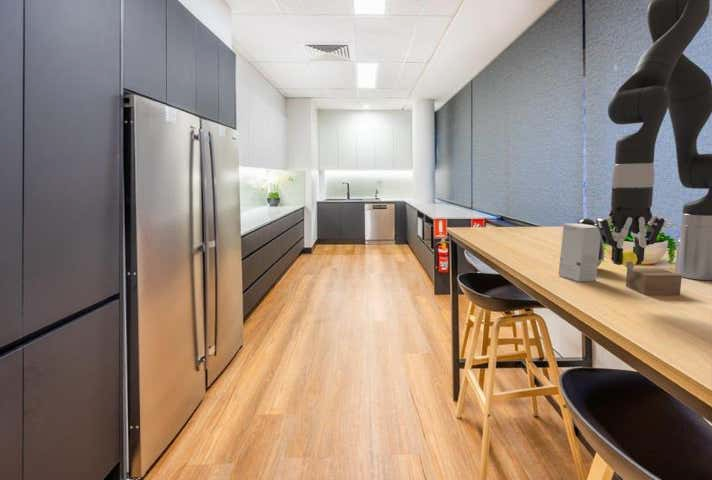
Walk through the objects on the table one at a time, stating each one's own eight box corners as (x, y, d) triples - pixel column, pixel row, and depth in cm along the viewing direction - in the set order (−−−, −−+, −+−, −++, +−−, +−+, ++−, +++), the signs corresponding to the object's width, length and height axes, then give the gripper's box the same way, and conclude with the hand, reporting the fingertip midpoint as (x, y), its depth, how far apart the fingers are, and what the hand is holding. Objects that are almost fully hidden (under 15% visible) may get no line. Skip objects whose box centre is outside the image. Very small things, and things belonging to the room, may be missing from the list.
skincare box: (557, 275, 123) (560, 223, 121) (576, 274, 125) (579, 222, 123) (579, 282, 115) (583, 226, 113) (598, 281, 117) (602, 225, 115)
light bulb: (631, 264, 98) (639, 250, 96) (635, 277, 93) (643, 263, 91) (615, 259, 99) (622, 245, 97) (617, 271, 94) (625, 257, 92)
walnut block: (625, 287, 111) (627, 268, 110) (658, 287, 110) (660, 268, 109) (644, 295, 103) (646, 275, 102) (679, 296, 102) (681, 275, 102)
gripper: (654, 184, 97) (648, 260, 100) (590, 185, 98) (585, 261, 100) (678, 184, 90) (671, 267, 92) (608, 186, 90) (603, 268, 93)
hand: (627, 263), depth 96 cm, fingers closed on light bulb, 3 cm apart
